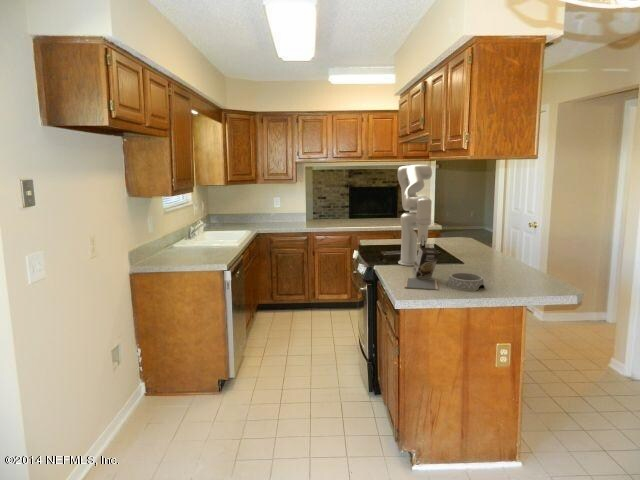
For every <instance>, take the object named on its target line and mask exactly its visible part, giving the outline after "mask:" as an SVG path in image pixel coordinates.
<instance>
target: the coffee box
mask: <svg viewBox="0 0 640 480" xmlns="http://www.w3.org/2000/svg"><path fill="white" fill-rule="evenodd" d="M439 256H440V253H439V251H438V250H437V249H436V248H435V247H426V246H425V247H420V246H419V248H418V250H417V258H416V261H415V264H414V266H413V267H412V272H411V273H412V274H413V276H414V278H416V279H432V277H433V274H434V271H435V267H436V266H437V265H436V264H437V262H438V258H439Z"/></svg>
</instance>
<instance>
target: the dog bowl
mask: <svg viewBox="0 0 640 480" xmlns="http://www.w3.org/2000/svg"><path fill="white" fill-rule="evenodd" d="M446 283H447V286H448V287H449V288H451V289H453V290H457V291H463V290H464V291H465V292H476V291H475V290H479V289H480V287H481V286H483V287H485V281H484V278H483V276H482V275H479V274H476V273H473V272H453V273H451V274H449V277H448V281H447V282H446Z"/></svg>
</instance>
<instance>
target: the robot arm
mask: <svg viewBox="0 0 640 480" xmlns="http://www.w3.org/2000/svg"><path fill="white" fill-rule="evenodd" d="M432 175H433V170H432V168H431V166H430V164H411V165H403V166H399V168H397V180H398V184H399V186H400V190H401V204H402V209H403V210H404V211H407V212H403V213H402V214H401V215H400V227H401V229H400V231H401V238H400V239H401V242H400V244H401V245H400V246H401V247H400V259H399V260H398V261H397V263H398V264H399V265H402V266H405V267H406V266H408V267H414V264H415V261H416V258H417V255H418V244H419V248H420V247H425V248H426V244H427V242H428V236H429V226H431V225H432V200H431V199H430V197H428V196H427V195H424V194H423V195H421V194H418V195H417V193H419V192H420V191H422V190H423V189H424V187H425V181H426V180H430V179H431V178H432ZM414 229H417V232H416V231H415V230H414Z"/></svg>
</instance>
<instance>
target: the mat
mask: <svg viewBox="0 0 640 480" xmlns="http://www.w3.org/2000/svg"><path fill="white" fill-rule="evenodd" d="M404 289H412V290H428V291H439V290H438V279H434V278H433V279H432V278H431V279H421V278H415V277H414V278H412V277H406V278H405V283H404Z"/></svg>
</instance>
